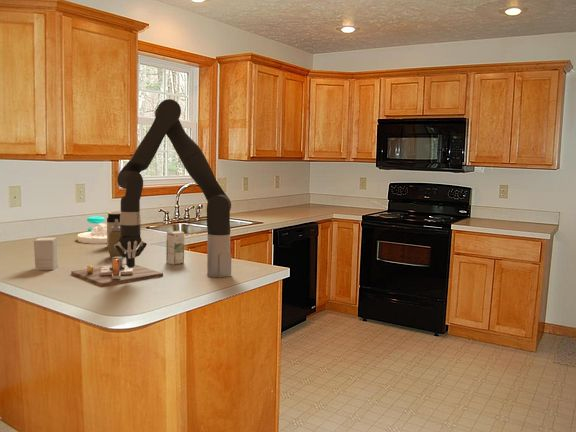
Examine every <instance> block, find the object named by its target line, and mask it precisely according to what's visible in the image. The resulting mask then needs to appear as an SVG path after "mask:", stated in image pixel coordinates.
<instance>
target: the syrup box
mask: <svg viewBox="0 0 576 432" xmlns="http://www.w3.org/2000/svg"><path fill="white" fill-rule="evenodd" d="M165 254H166V256H165V257H166V258H165V260H166V261H165V262H166V264H169V265H175V264H176V265H181V263H182V264H185V232H184V231H182V230H172V231H166V253H165Z"/></svg>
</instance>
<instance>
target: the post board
mask: <svg viewBox="0 0 576 432" xmlns="http://www.w3.org/2000/svg"><path fill="white" fill-rule="evenodd" d="M113 259H119V270H122V265H126V263H123V257H111V266H112V270H113ZM101 269H102V266H100V267H98V266H97V267H93V274H87V268H86V269H79V270H72V271H70V274H71V275H72V276H74V277H77V278H80V279H83V280H84V281H87V282H90V283H93V284H94V285H97V286H100V287H101V288H102V287H108V286H113V285H120V284H126V283H130V282H137V281H138V282H139V281H144V280H147V279H156V278H160V277H163V276H164V273H163V272H160V271H157V270H155V269H152V268H148V267H144V266H141V265H138V264H135V266H133V274H128V275H121V277H120V279H112V275H100V272H101Z"/></svg>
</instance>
